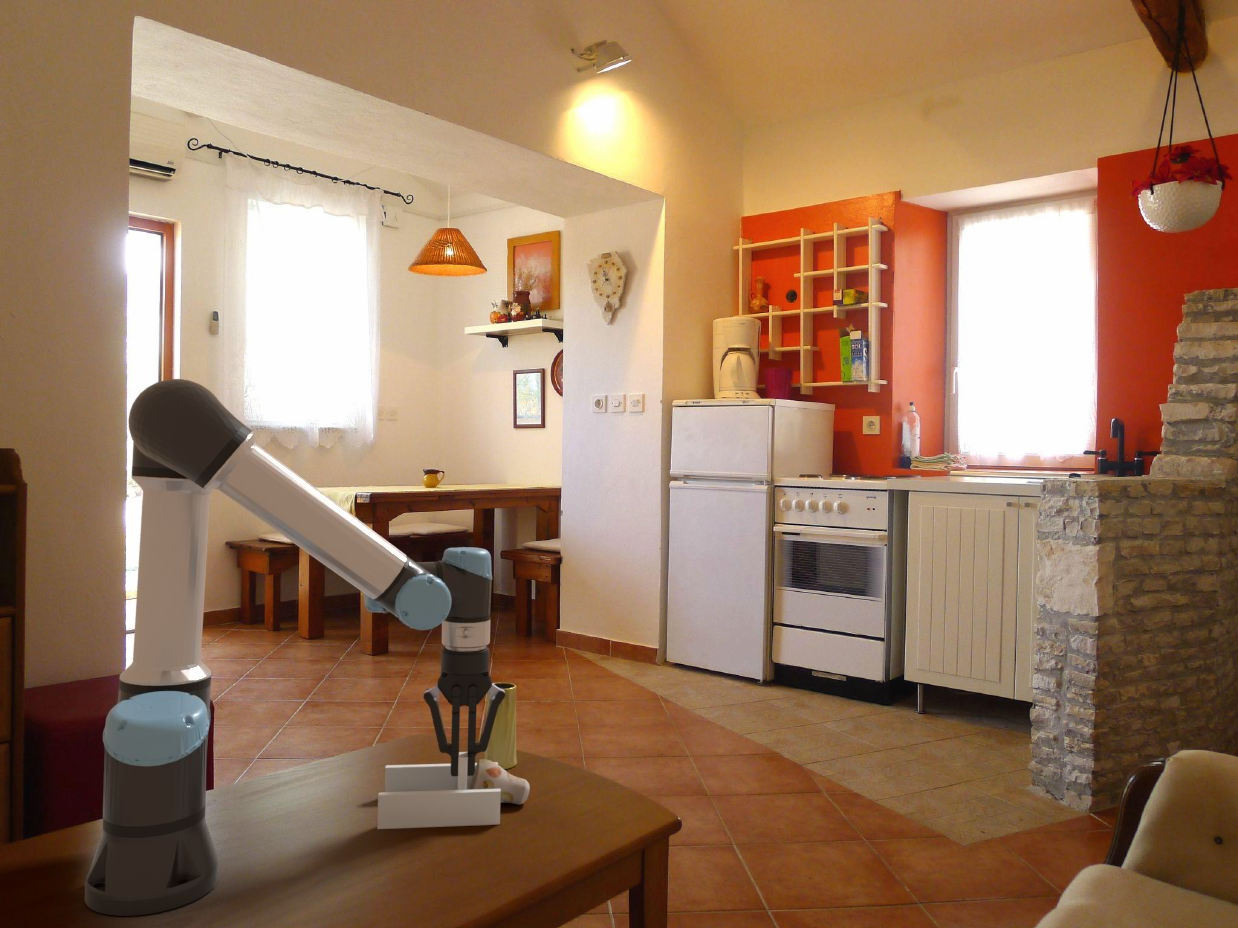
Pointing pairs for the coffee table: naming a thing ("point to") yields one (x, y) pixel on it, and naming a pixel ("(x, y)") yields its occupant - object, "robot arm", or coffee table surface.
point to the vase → (503, 729)
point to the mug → (500, 782)
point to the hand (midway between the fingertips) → (462, 795)
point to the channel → (433, 799)
